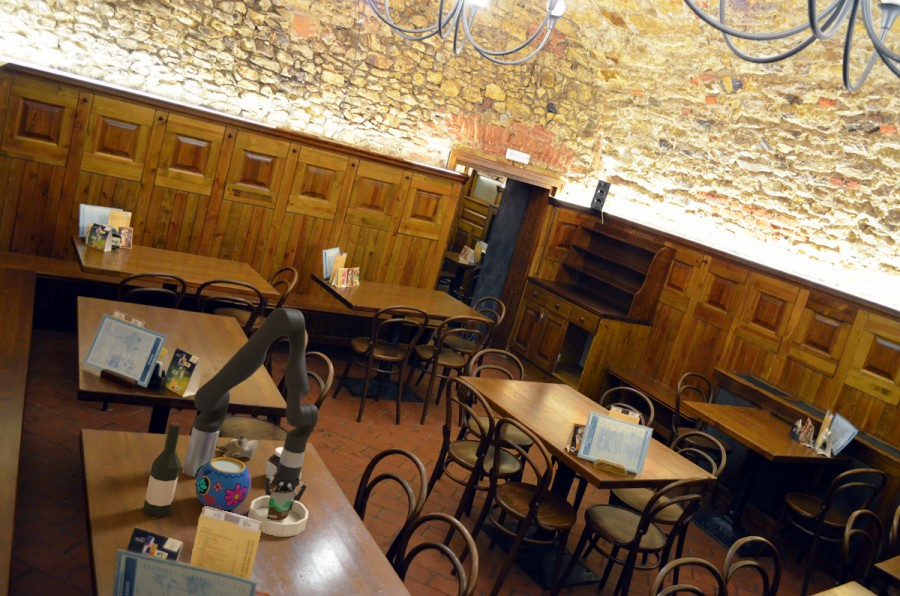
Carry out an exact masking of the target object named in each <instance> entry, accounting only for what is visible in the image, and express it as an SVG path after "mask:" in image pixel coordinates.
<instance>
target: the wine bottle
mask: <svg viewBox="0 0 900 596" xmlns="http://www.w3.org/2000/svg"><path fill="white" fill-rule="evenodd" d="M180 432H181V425H180V422H178V421H171V422H170V424H169V425H168V429H167V433H166V437H165V438H166V439H165V443H164V447H163V448H164V449H163V451H161V453H159V455H158V456H157V457H156V458H155V459H154V460H153V461H152V465H151V470H150V474H149V479H148V483H147V484H148V485H147V488H146V489H147V490H146V494H145V498H144V503H143V504H144V505H143V507H142V513H144V514H145V516H147V517H148V516H149V518H153V517H156V518H155V519H161V518H160V517H163V518H167V517H168V516H169V515H170V514H171V513H172V511H171V510H172V508H173V502H174V497H175V493H176V488H177V484H178V479H179V475H180V471H181V465H182V463H181V461H180V459H179V456H178V453H177V451H176V449H177V445H178V441H179V435H180ZM166 516H167V517H166Z"/></svg>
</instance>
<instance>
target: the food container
mask: <svg viewBox="0 0 900 596" xmlns="http://www.w3.org/2000/svg"><path fill="white" fill-rule="evenodd" d="M296 495H297V486H296V487H295V488H294V491H293V492H290V493H289V492H287V491H285V490H279V491H275V492H272V493H271V496H270V504H269V510H268V515H267V519H270V520H283V519H285V518H287V516H288V513H289V511H288V510H289V507H290V505H291V500H292V498H294V497H295V496H296Z"/></svg>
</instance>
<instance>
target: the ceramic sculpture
mask: <svg viewBox="0 0 900 596" xmlns="http://www.w3.org/2000/svg"><path fill="white" fill-rule="evenodd" d="M258 443H259V439H255V440H253V439H252V440H247V438H246V437H244V436H239V438H232V439H230V440H229V441H228V442H227V443H224V444H223V445H216V449H218V450H219V451H222V452H225V453H224V454H223V455H221V456H220V457H228V458H233V459H238V458H245V457H246V458H248V459H252V458H253V456H254V454H255V452H256V451H257V449H258V445H259V444H258Z"/></svg>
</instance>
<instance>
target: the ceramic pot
mask: <svg viewBox="0 0 900 596" xmlns="http://www.w3.org/2000/svg"><path fill="white" fill-rule="evenodd" d="M194 478H195V484H194V485H195V492H196V496H197V498H198V500H199V501H200V503H201V504H202V505H204V506H205V507H207V506H209V507H213V508H217V509H221V510H220V511H228V510H233V509H235V508H238V507H239V506H240V505H241V504H243V502H245V500H246V499H247V497H248V495H249V493H250V490H251V487H252V477H251V473H250V470H249V469H248V467H247V466H246V464H245V463H244V462H243V461H241V460H239V459H237V458H228V457H221V456H219V457H216V458H215V457H214V459H212V460H211V461H209V462H207V463H206V464H205V465H201V466H199V467H198V468H197V470H196V472H195V477H194ZM209 507H208V508H209Z"/></svg>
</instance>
